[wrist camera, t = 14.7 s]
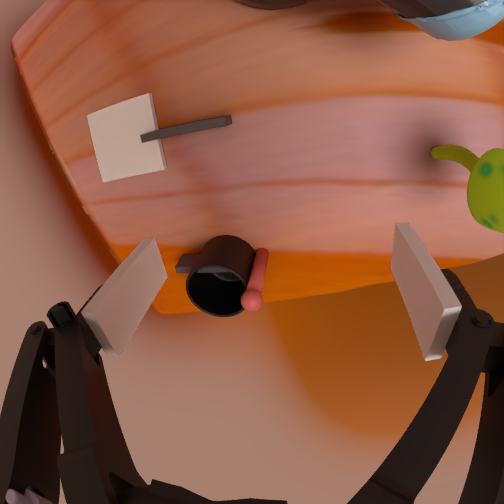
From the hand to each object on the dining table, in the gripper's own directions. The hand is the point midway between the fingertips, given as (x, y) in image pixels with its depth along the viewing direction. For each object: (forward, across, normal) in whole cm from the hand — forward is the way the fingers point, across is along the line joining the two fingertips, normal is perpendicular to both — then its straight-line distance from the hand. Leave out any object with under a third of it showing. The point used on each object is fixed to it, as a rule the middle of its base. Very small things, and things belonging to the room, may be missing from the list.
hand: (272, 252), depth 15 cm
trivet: (+27, -24, +6) cm, 36 cm away
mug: (+27, -11, -18) cm, 34 cm away
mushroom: (+27, +22, 0) cm, 35 cm away
